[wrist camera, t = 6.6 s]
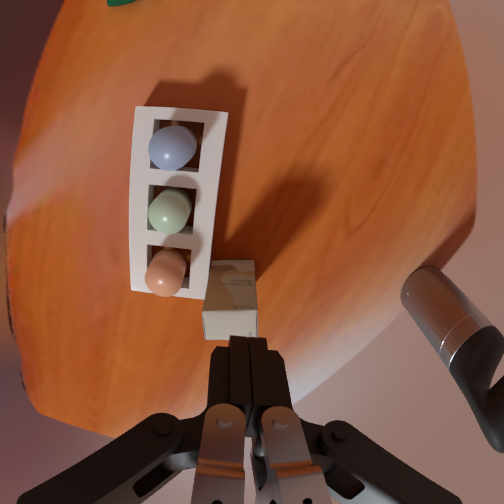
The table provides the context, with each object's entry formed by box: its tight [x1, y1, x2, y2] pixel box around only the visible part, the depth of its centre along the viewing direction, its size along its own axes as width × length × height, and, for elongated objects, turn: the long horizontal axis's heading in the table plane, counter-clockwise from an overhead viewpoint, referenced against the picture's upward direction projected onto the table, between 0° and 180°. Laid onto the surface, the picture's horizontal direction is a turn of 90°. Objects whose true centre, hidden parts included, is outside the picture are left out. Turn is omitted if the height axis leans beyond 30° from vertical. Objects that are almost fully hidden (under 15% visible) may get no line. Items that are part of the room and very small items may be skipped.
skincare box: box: [202, 260, 258, 340], centre depth 38 cm, size 6×4×12 cm
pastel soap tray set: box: [129, 106, 229, 300], centre depth 38 cm, size 11×25×3 cm, turn 171°
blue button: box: [148, 125, 197, 171], centre depth 32 cm, size 5×5×4 cm
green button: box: [148, 187, 192, 234], centre depth 36 cm, size 5×5×4 cm
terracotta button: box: [145, 249, 186, 297], centre depth 38 cm, size 5×5×4 cm
